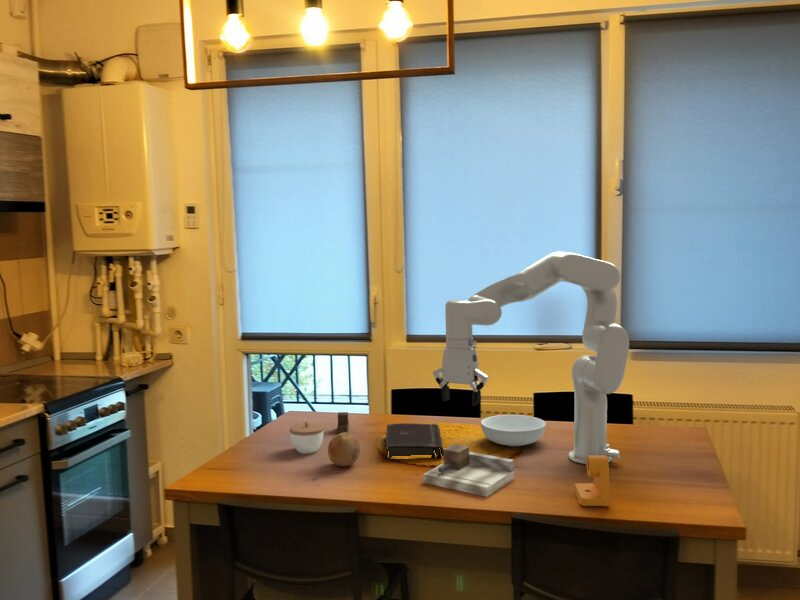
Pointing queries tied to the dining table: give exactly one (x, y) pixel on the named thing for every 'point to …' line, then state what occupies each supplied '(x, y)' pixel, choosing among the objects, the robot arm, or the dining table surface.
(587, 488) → the bracket
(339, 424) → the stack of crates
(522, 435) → the serving bowl
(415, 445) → the diary
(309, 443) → the lidded jar
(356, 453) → the onion
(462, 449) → the block
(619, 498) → the dining table surface
